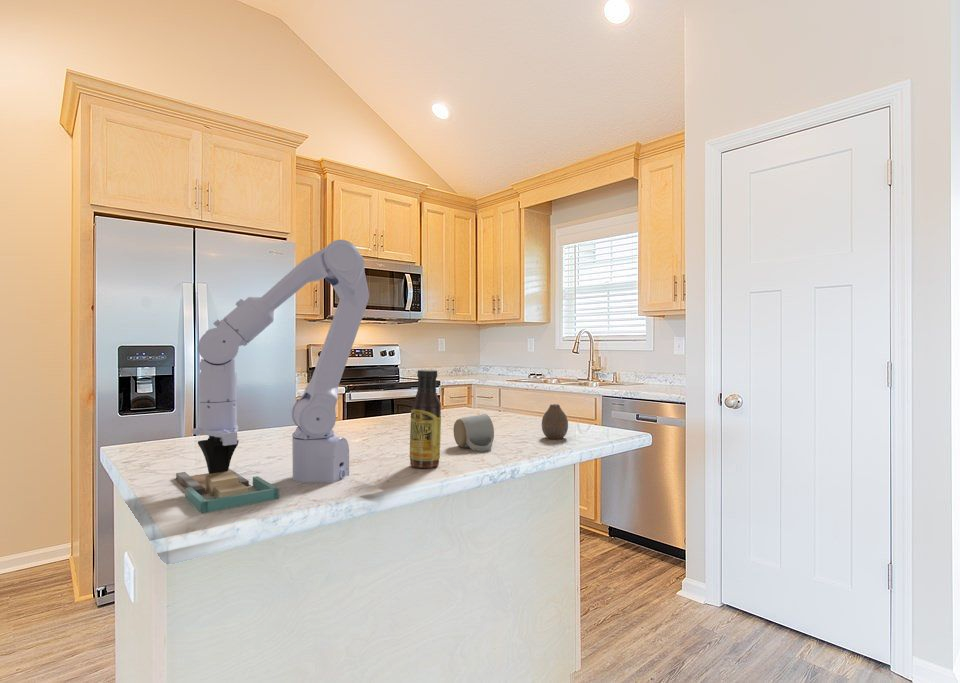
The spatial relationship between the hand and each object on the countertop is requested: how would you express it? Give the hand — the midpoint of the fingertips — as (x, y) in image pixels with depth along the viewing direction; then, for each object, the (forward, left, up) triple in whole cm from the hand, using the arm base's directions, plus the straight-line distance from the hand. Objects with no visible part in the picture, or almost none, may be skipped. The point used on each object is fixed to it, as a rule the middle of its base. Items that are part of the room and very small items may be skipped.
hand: (218, 481), depth 91 cm
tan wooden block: (-5, +4, -2) cm, 7 cm away
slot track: (+4, -3, -2) cm, 5 cm away
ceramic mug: (-33, -49, -3) cm, 59 cm away
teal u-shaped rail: (-6, +4, -2) cm, 8 cm away
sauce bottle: (-27, -28, -3) cm, 39 cm away
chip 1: (-2, +1, -1) cm, 3 cm away
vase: (-50, -65, -3) cm, 82 cm away
